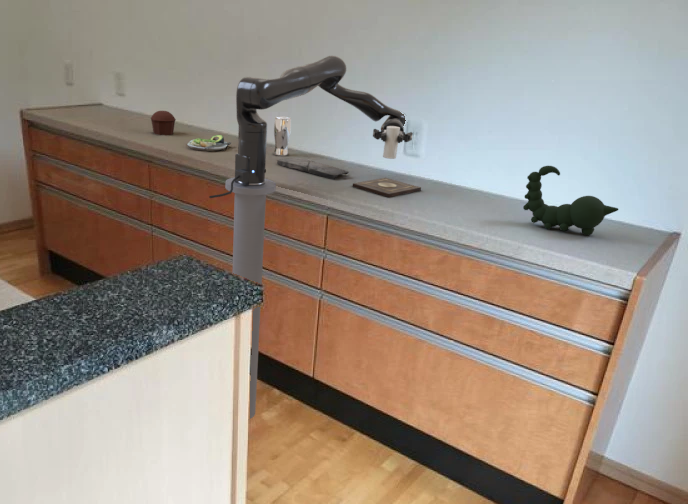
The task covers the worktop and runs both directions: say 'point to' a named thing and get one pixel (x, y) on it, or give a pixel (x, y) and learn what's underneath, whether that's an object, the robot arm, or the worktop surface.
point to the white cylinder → (391, 142)
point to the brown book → (386, 187)
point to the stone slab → (312, 167)
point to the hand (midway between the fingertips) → (391, 139)
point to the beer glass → (282, 135)
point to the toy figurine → (564, 207)
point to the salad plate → (209, 144)
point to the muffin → (163, 123)
